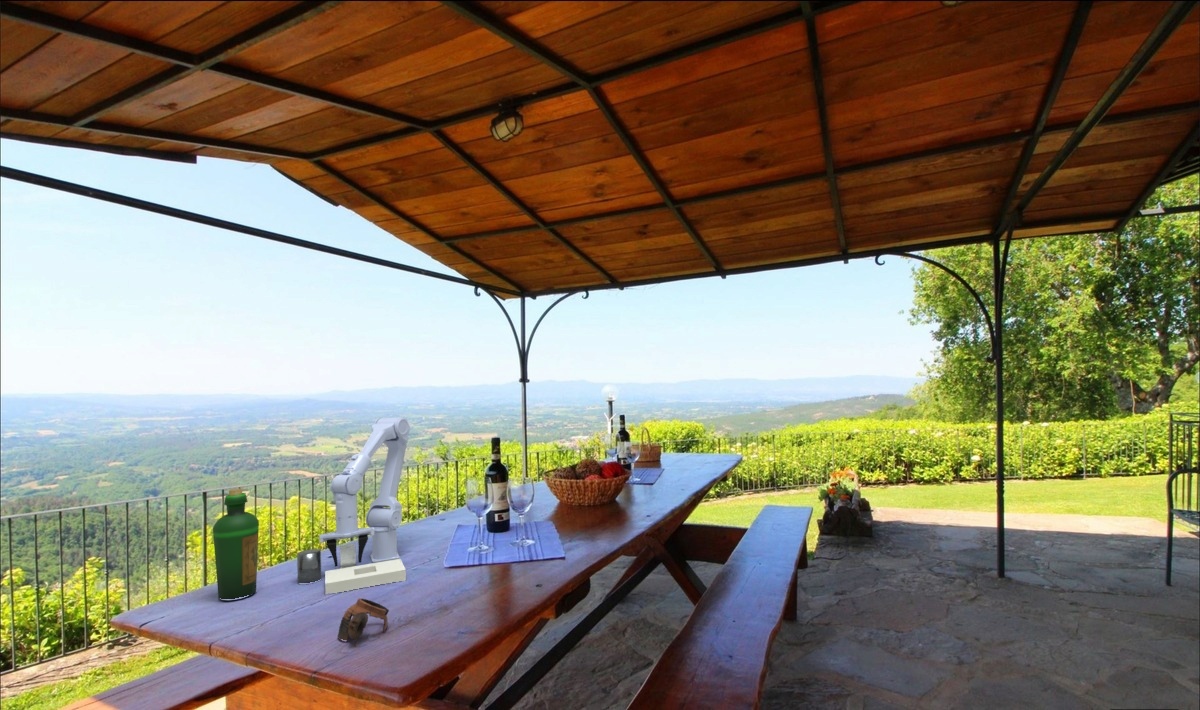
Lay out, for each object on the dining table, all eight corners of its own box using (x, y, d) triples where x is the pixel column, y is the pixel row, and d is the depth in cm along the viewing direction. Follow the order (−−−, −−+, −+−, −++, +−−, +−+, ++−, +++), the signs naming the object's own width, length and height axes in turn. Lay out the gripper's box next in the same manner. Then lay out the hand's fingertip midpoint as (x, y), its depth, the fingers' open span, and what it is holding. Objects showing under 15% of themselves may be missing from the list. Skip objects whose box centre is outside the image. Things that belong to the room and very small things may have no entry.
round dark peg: (298, 579, 165) (297, 551, 165) (321, 575, 167) (320, 547, 168) (297, 586, 159) (296, 556, 160) (321, 581, 162) (320, 552, 162)
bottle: (266, 594, 154) (264, 488, 155) (219, 607, 146) (218, 494, 147) (253, 586, 161) (251, 484, 162) (208, 598, 153) (206, 491, 155)
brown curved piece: (338, 632, 128) (357, 594, 131) (378, 647, 129) (396, 609, 132) (325, 639, 117) (346, 598, 120) (369, 657, 118) (389, 615, 121)
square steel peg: (340, 573, 169) (339, 545, 169) (355, 571, 170) (354, 543, 171) (341, 577, 165) (340, 549, 165) (356, 574, 167) (355, 546, 167)
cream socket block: (325, 582, 162) (325, 571, 162) (400, 569, 170) (400, 558, 170) (325, 595, 151) (325, 583, 151) (406, 580, 159) (405, 569, 160)
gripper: (318, 522, 162) (320, 571, 161) (374, 515, 168) (375, 562, 167) (319, 517, 168) (320, 565, 168) (372, 510, 174) (374, 556, 174)
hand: (348, 563), depth 168 cm, fingers open, 6 cm apart
